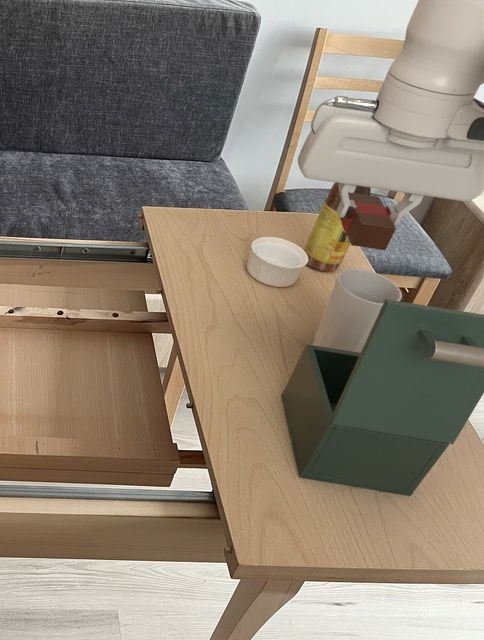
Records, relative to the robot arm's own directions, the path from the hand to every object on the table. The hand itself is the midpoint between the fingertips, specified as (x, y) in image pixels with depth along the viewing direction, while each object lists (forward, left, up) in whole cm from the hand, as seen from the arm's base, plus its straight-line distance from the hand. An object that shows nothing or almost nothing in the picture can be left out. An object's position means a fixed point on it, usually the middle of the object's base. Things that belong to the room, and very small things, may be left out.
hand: (366, 219), depth 84 cm
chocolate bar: (0, 0, -2) cm, 2 cm away
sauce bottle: (-7, -24, -21) cm, 33 cm away
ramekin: (+2, -18, -21) cm, 28 cm away
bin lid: (-1, +23, -4) cm, 23 cm away
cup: (-4, +1, -21) cm, 21 cm away
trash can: (-1, +18, -21) cm, 27 cm away
